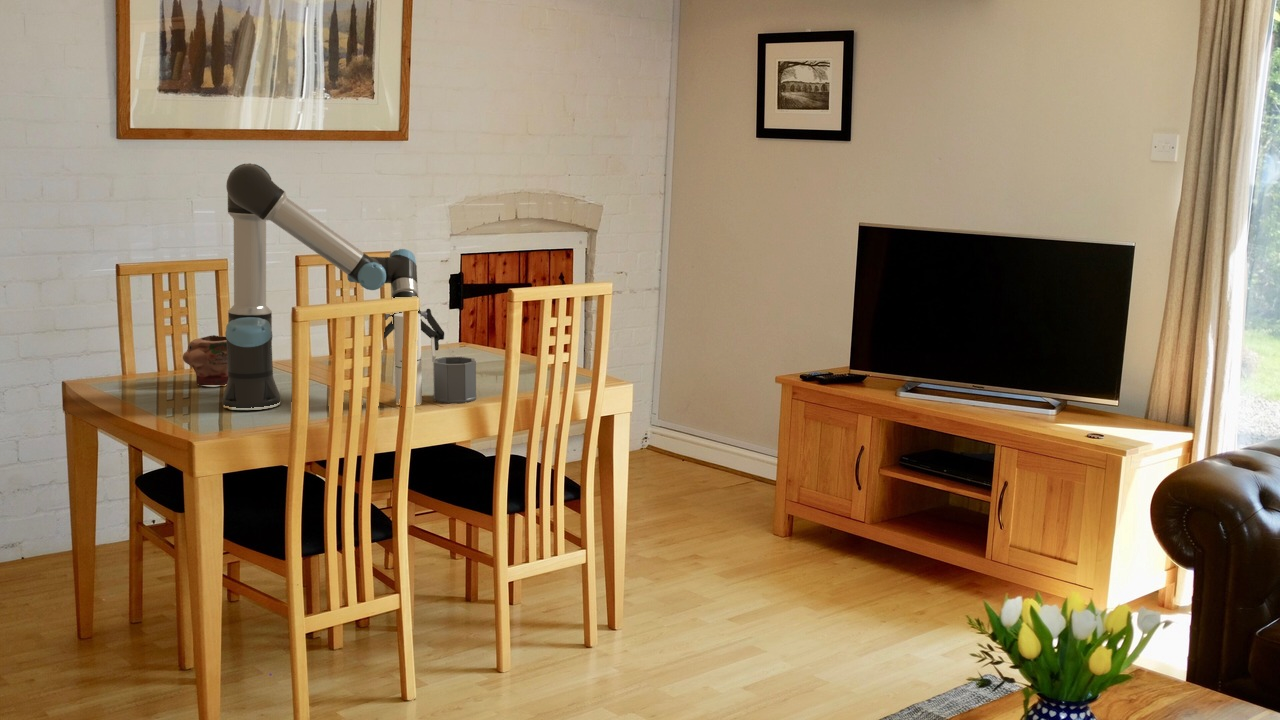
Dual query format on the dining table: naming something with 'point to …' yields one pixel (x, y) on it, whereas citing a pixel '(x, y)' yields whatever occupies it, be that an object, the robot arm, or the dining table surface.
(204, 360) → the decorative planter
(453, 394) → the holder sleeve
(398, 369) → the cylindrical container
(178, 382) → the dining table surface
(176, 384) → the dining table surface
